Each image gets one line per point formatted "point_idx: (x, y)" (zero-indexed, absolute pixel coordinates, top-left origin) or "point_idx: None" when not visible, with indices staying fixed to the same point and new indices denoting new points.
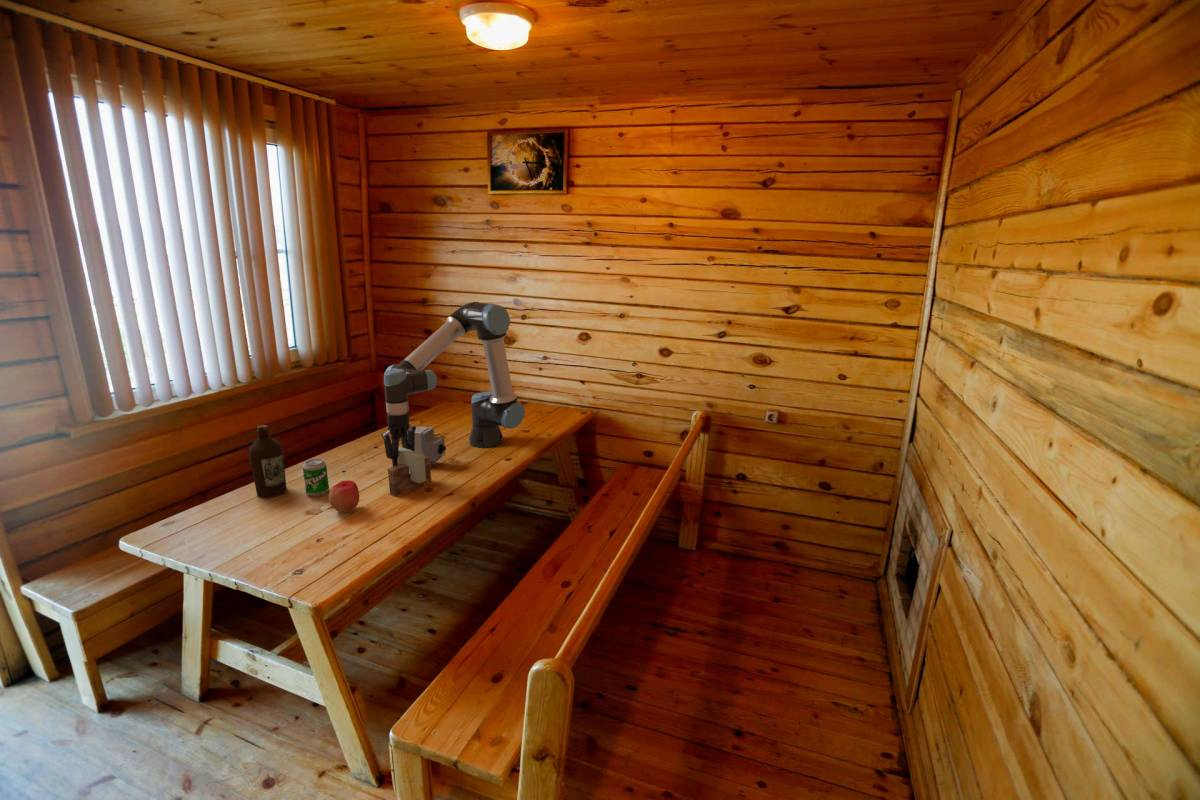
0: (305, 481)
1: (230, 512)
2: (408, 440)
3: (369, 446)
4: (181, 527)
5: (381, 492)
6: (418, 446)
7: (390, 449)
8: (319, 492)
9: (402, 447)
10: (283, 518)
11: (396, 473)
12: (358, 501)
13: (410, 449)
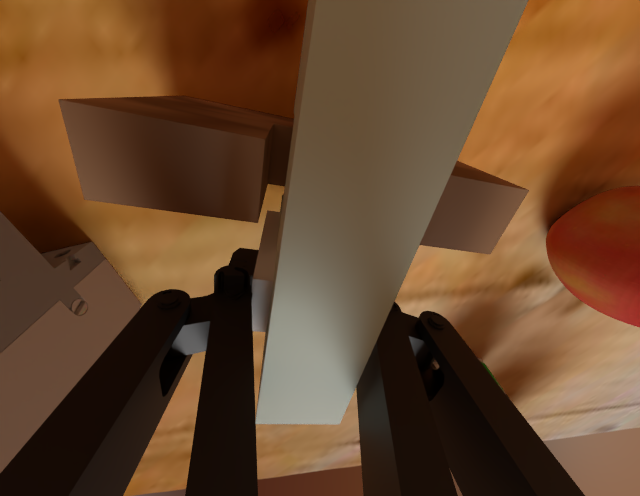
0: None
1: (565, 406)
2: (125, 476)
3: (140, 471)
4: (625, 410)
5: None
6: (13, 377)
7: (507, 415)
8: (480, 361)
9: (261, 394)
10: (608, 323)
11: (477, 174)
12: (626, 192)
13: (186, 330)
